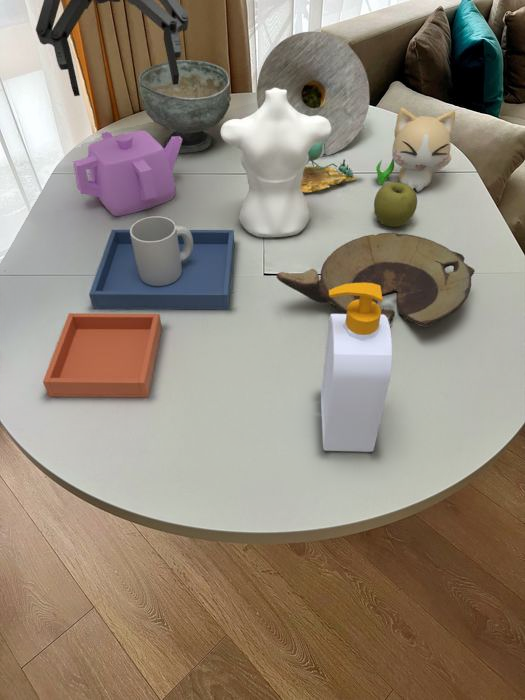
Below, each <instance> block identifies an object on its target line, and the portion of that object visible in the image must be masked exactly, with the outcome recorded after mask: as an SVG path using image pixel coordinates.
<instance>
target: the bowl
mask: <svg viewBox="0 0 525 700" xmlns="http://www.w3.org/2000/svg"><path fill="white" fill-rule="evenodd" d="M176 62H177V67H178V72H179V82H178V84H175V85H173V82H172V77H171V72H170V67H169V63H168V61H165V62H163V61H162V62H160V63H159V64H154V65H152V66H149V67H147V68H145V69H144V70H142V72H140V75H139V76H138V79H137V80H138V81H137V82H138V91H139V95H140V97H139V98H140V101H141V103H142V107H143V109H144V111H145V113H146V115H147V116H148V117H149V118H150V119H151V121H153V122H154V123H155V124H157V125H159V126H161V127H163V128H165V129H167V130H170V131H173V132H172V133H170V134H169V136H168V137H167V139H166V145H167V144H168V142H169V141H170V139H171V137H176V136H180V137H181V138H182V143H181V146H180V149H179V152H178V154H187V153H196V152H201V151H204V150H206V149H207V148H209V147H210V146H211V144H212V138H211V135H210V134H208V133H207V132H206V131H208V130H210V129H212V128H214V127H215V126H216V125H218V123H220V121H221V120H223V119H224V118H225V116H226V114H227V112H228V110H229V108H230V105H231V104H230V102H231V100H232V97H231V91H230V89H231V88H230V87H231V85H230V83H231V82H230V76H229V74H228V71H226V69H224V68H223V67H221V66H219V65H217V64H215V63H211V62H208V61H201V60H194V59H193V60H192V59H191V60H190V59H176Z"/></svg>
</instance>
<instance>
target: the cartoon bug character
mask: <svg viewBox="0 0 525 700" xmlns="http://www.w3.org/2000/svg"><path fill="white" fill-rule="evenodd" d="M322 144H324V150H325V143H322V141H321V142H318V143H316V144H314V145H313V146H312V147H311V149H310V150H309V152H308V156H309V159H308V163H307V165H308V166H306V167H305V169H304V172H303V177H302V182H301V190H302V193H303V194H305V193H313V192H319V191H322V190H325V189H328V188H330V187H331V186H335V185H338V184H343V183H351V182H353V181H356V180H358V179H357V178H356V177H354V174H353V170H352V169H351V167H349V164H347V165H346V163H345V162H346V159H343V160H342V163H340V164H339V166H338V165H336V164H335V163H330V164H328V165H326V166H320V165H319V164H317V163H316V162H315V161H316V160H318V159H319V158H321V157H320V155H321V153H322V149H323V147H322ZM326 155H327V154H326V151H325V153H324V154H323V156H322V157H327V156H328V155H327V156H326ZM310 162H311V164H312V166H311V165H310V166H309V163H310ZM331 166H334V167H331Z"/></svg>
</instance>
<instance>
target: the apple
mask: <svg viewBox="0 0 525 700" xmlns="http://www.w3.org/2000/svg"><path fill="white" fill-rule="evenodd" d="M415 191H416V190H415V189H412V188H411V187H410V186H408V185H406V184H404V183H401V182H400V181H399V182H397V181H393V182H392V181H391V182H387V183H385V184H383V185H381V187H380V188H379V189H378V191H377V192H376V194H375V197H374V201H373V209H374V215H375V216H376V219H377V220H378V221H379V222H380V223H381V224H382V225H384V226H387V227H392V228H397V227H402V226H404V225H406V223H408V222H409V221H410V220H411V218H412V217H413V216H414V215H415V212H416V210H417V206H418V196H417V192H415Z"/></svg>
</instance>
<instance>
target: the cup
mask: <svg viewBox="0 0 525 700" xmlns="http://www.w3.org/2000/svg"><path fill="white" fill-rule="evenodd" d="M129 230H130V235H131V240H132V245H133V249H134V254H135V259H136V264H137V268H138V273H139V276H140V279H141V280H142V281H143V282H144V283H146V284H148V285H150V286H156V287H161V286H167V285H170V284H172V283H174V282H175V281H177V280H178V278H179V277H180V276H181V273H182V267H181V262H183V261H185V260H187V259H188V258H189V257H190V255H191V253H192V251H193V237H192V234H191V232H190V231H189V230H190V229H189V228H187V227H185V226H183V225H176V223H175V221H174V220H172V219H170V218H168V217H165V216H157V215H155V216H154V215H153V216H148V217H143V218H141V219H139V220H137V221H135V222H134V223H133V224H132V225H131V226H130V229H129ZM177 236H182V238H183V240H184V248H183V250H182V251H181V252H180V251H179V244H178V237H177Z"/></svg>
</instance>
